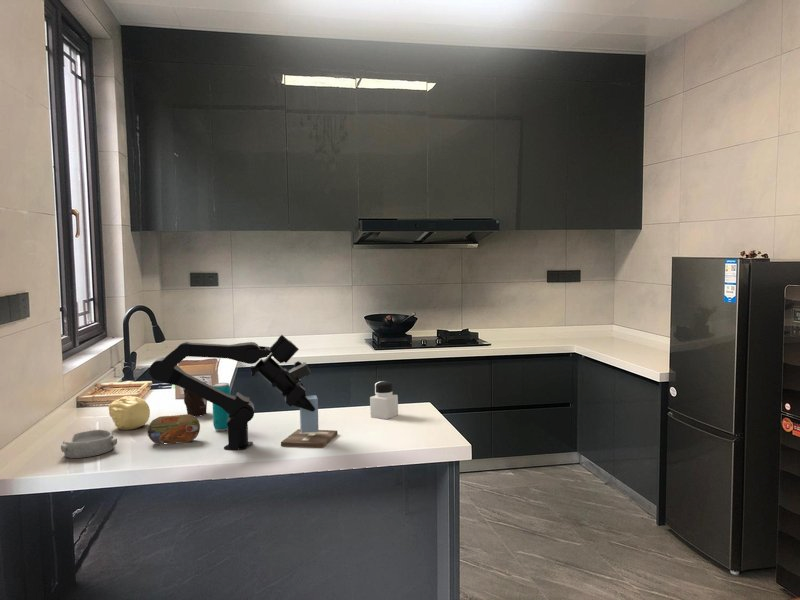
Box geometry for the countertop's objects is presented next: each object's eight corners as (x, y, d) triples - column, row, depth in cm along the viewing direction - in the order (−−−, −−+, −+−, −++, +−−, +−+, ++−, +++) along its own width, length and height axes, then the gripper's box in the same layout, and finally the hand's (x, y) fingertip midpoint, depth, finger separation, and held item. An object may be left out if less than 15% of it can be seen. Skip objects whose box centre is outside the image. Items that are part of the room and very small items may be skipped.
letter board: (323, 447, 179) (322, 443, 179) (281, 446, 182) (280, 441, 182) (337, 434, 193) (337, 430, 193) (298, 432, 195) (298, 429, 195)
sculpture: (104, 430, 205) (102, 398, 204) (134, 421, 215) (132, 390, 215) (127, 433, 200) (125, 400, 199) (157, 424, 210) (156, 393, 209)
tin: (148, 445, 186) (146, 418, 185) (150, 442, 189) (148, 415, 188) (200, 441, 189) (198, 414, 188) (201, 438, 192) (200, 412, 191)
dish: (60, 462, 172) (59, 445, 172) (65, 449, 185) (64, 432, 184) (117, 455, 178) (116, 437, 177) (118, 442, 190) (117, 426, 190)
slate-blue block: (301, 432, 184) (300, 399, 183) (300, 428, 189) (299, 396, 188) (318, 431, 185) (317, 398, 185) (316, 427, 190) (316, 395, 189)
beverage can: (225, 426, 206) (223, 381, 205) (235, 428, 202) (233, 383, 201) (210, 430, 201) (208, 384, 200) (220, 432, 198) (218, 386, 197)
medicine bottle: (398, 415, 215) (397, 381, 215) (387, 419, 209) (386, 384, 209) (381, 412, 219) (380, 379, 218) (370, 417, 213) (369, 383, 212)
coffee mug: (199, 410, 229) (198, 383, 229) (214, 413, 224) (213, 386, 224) (172, 417, 220) (170, 389, 219) (186, 420, 215) (185, 392, 214)
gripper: (296, 359, 176) (335, 394, 179) (292, 350, 194) (327, 382, 197) (269, 388, 174) (309, 423, 178) (267, 376, 192) (303, 409, 196)
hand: (313, 408), depth 187 cm, fingers closed on slate-blue block, 5 cm apart
